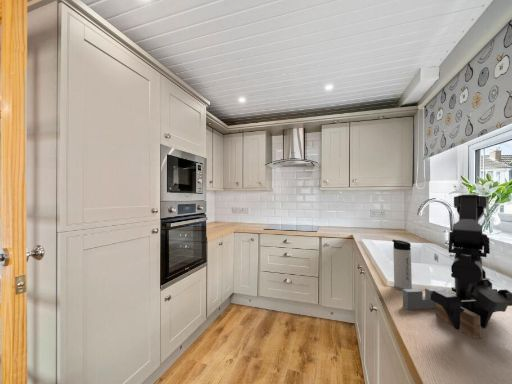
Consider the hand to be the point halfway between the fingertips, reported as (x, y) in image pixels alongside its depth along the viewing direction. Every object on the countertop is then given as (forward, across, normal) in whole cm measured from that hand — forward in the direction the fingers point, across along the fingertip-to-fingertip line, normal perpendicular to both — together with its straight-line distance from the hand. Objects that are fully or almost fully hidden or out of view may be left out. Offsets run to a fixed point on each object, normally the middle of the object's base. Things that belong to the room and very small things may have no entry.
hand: (469, 328), depth 65 cm
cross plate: (+2, 0, +4) cm, 4 cm away
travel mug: (+2, +4, +32) cm, 32 cm away
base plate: (+2, 0, +16) cm, 16 cm away
